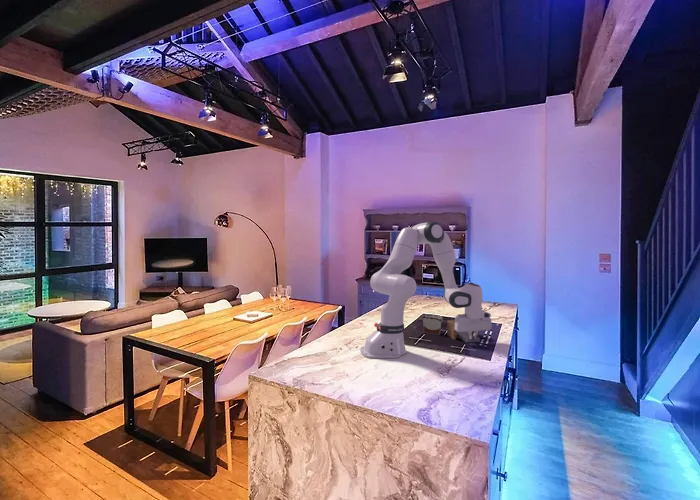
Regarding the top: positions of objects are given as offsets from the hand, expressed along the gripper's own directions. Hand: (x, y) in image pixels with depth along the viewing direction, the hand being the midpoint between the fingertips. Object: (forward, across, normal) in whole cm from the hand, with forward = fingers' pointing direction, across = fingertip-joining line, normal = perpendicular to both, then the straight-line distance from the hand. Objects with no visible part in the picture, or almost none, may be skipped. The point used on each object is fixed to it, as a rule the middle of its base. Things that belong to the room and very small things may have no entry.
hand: (472, 338), depth 195 cm
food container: (+2, -13, +20) cm, 24 cm away
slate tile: (+2, 0, +6) cm, 7 cm away
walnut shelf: (+2, 0, +10) cm, 10 cm away
